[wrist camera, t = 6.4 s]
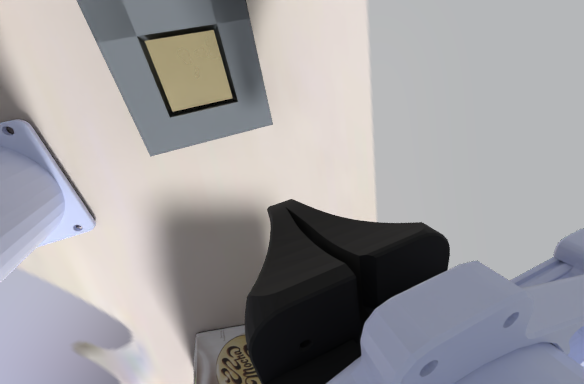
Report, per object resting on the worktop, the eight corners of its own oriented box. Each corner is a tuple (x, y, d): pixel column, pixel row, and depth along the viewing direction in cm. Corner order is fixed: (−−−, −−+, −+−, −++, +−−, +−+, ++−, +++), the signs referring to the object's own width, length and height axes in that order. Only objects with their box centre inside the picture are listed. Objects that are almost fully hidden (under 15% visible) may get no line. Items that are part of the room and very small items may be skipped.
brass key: (176, 107, 17) (172, 111, 14) (153, 49, 15) (144, 40, 13) (227, 96, 18) (232, 98, 15) (211, 39, 16) (213, 30, 13)
